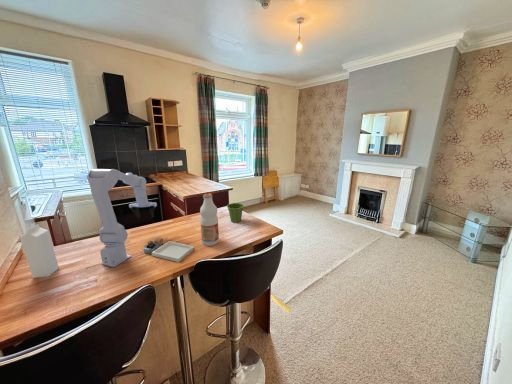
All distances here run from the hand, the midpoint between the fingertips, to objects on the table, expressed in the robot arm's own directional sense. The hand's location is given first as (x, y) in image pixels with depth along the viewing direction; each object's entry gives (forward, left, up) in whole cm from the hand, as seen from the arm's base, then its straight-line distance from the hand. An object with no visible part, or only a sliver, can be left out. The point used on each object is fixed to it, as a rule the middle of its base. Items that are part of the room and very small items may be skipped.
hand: (145, 217), depth 125 cm
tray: (-12, -29, -10) cm, 33 cm away
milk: (-44, +12, -11) cm, 47 cm away
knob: (-14, -17, -10) cm, 24 cm away
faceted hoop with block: (-12, -17, -10) cm, 23 cm away
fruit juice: (+4, -41, -11) cm, 43 cm away
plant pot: (+36, -42, -11) cm, 56 cm away
